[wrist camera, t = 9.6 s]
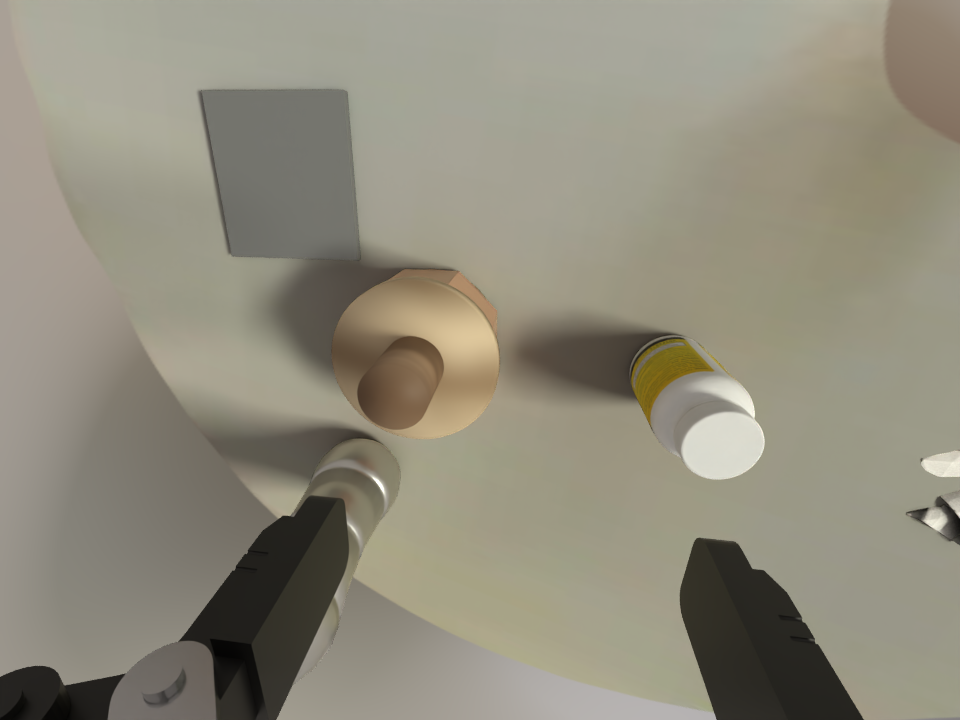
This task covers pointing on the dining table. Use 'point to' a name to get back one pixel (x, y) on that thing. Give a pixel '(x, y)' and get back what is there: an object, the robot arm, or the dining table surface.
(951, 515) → the cloth
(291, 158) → the mat
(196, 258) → the dining table surface
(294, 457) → the dining table surface
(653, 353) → the supplement bottle
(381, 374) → the lid
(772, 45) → the dining table surface
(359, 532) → the plastic bottle
